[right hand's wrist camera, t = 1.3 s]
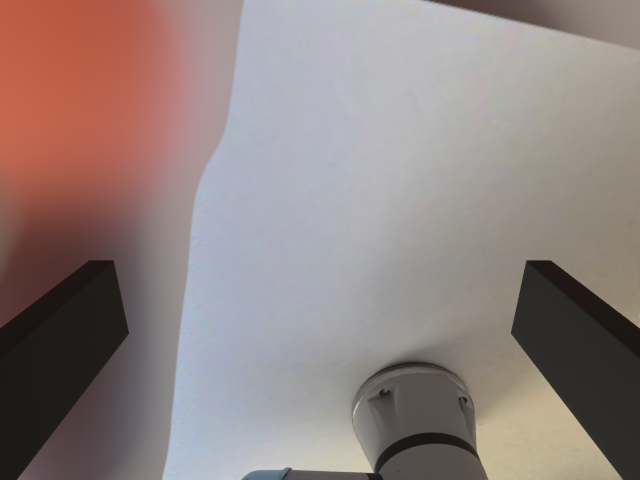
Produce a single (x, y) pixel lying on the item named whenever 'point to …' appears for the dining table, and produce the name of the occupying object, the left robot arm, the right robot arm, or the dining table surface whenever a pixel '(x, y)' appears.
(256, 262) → the dining table surface
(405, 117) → the dining table surface
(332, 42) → the dining table surface
